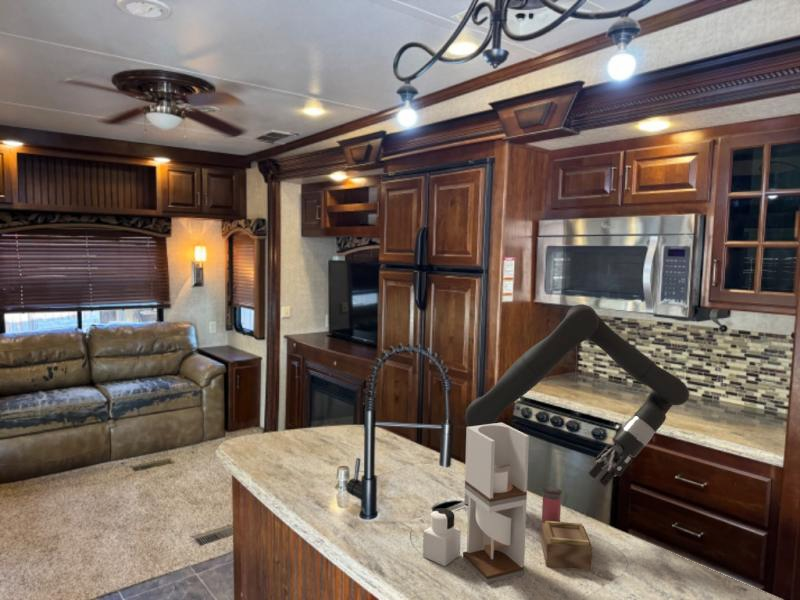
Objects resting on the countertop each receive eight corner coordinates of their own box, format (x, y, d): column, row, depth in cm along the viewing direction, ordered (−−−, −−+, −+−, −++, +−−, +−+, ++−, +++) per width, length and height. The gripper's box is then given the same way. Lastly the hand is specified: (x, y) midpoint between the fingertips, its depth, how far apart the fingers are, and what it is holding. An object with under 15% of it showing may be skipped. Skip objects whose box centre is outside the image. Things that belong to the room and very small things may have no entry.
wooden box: (546, 566, 140) (547, 539, 140) (541, 544, 151) (542, 519, 151) (591, 570, 139) (592, 543, 138) (582, 547, 150) (583, 522, 149)
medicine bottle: (438, 546, 149) (439, 502, 148) (460, 555, 145) (461, 511, 144) (422, 556, 144) (423, 512, 143) (445, 567, 139) (446, 521, 138)
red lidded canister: (542, 535, 156) (543, 494, 155) (540, 526, 161) (541, 486, 160) (561, 536, 155) (563, 495, 154) (558, 527, 160) (560, 487, 159)
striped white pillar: (462, 559, 143) (466, 427, 140) (497, 551, 147) (501, 422, 144) (487, 584, 132) (491, 441, 129) (523, 574, 137) (529, 435, 134)
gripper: (613, 423, 163) (578, 464, 163) (633, 431, 149) (594, 477, 148) (633, 440, 163) (597, 482, 162) (655, 450, 149) (615, 496, 148)
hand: (596, 479), depth 155 cm, fingers open, 8 cm apart
